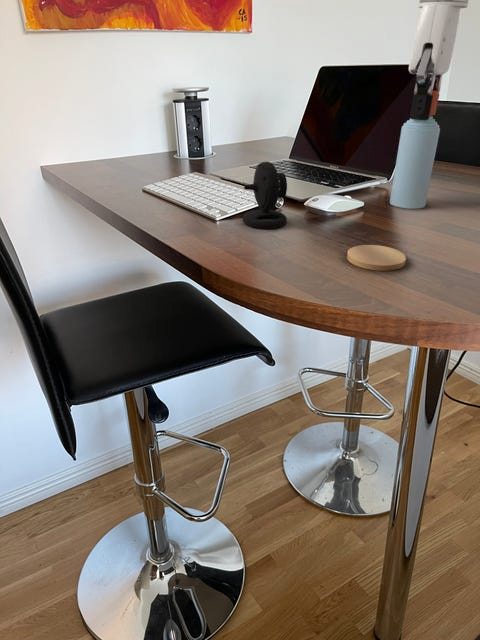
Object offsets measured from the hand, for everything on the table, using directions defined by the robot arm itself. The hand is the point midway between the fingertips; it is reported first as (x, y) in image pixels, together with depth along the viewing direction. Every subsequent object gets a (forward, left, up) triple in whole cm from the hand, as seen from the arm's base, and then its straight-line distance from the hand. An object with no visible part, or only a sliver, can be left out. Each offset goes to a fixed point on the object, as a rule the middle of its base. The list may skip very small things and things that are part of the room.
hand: (422, 117), depth 89 cm
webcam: (+31, -5, -16) cm, 35 cm away
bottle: (0, 0, -16) cm, 16 cm away
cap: (0, 0, +1) cm, 1 cm away
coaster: (+28, +17, -16) cm, 36 cm away
